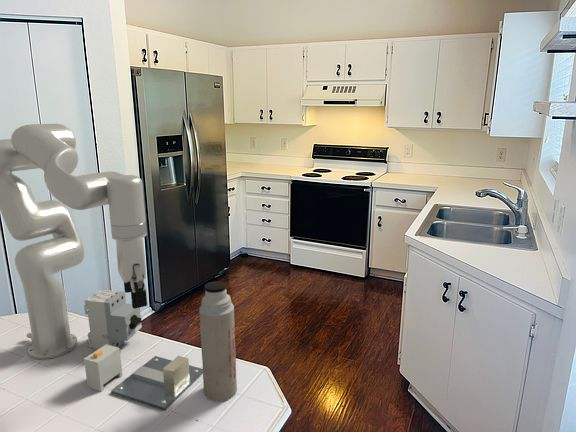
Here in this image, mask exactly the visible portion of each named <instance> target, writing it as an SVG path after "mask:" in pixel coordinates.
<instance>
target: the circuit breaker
mask: <svg viewBox="0 0 576 432" xmlns="http://www.w3.org/2000/svg"><path fill="white" fill-rule="evenodd" d="M83 302H84V305H83V307H84V314H85V315H87V317H88V318H87V319H88V324H89V332H88V333H87V339H88V340H87V341H88V344H89V349H92V347H93V349H95V350H98V349H100V348H101V347H103V346H104V345H106V344H107V345H110V346H114V347H118V348H120V347H121V346H122V345H123V344H125V342H129V340H130V339H131V338H132V337H133V336H135V334H137V333H138V332H139V331H140V330H141V329H142V322H143V320H142V319H143V318H142V316H141V307H140V308H135V309H134V308H133V307H132V303H126V302H127V301H126V293H125V291H121V290H120V291H119V290H109V289H99V290H98V291H96V292H95V293H94V294H93V295H90V296H89V297H87V298H85V299H84V300H83Z"/></svg>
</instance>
